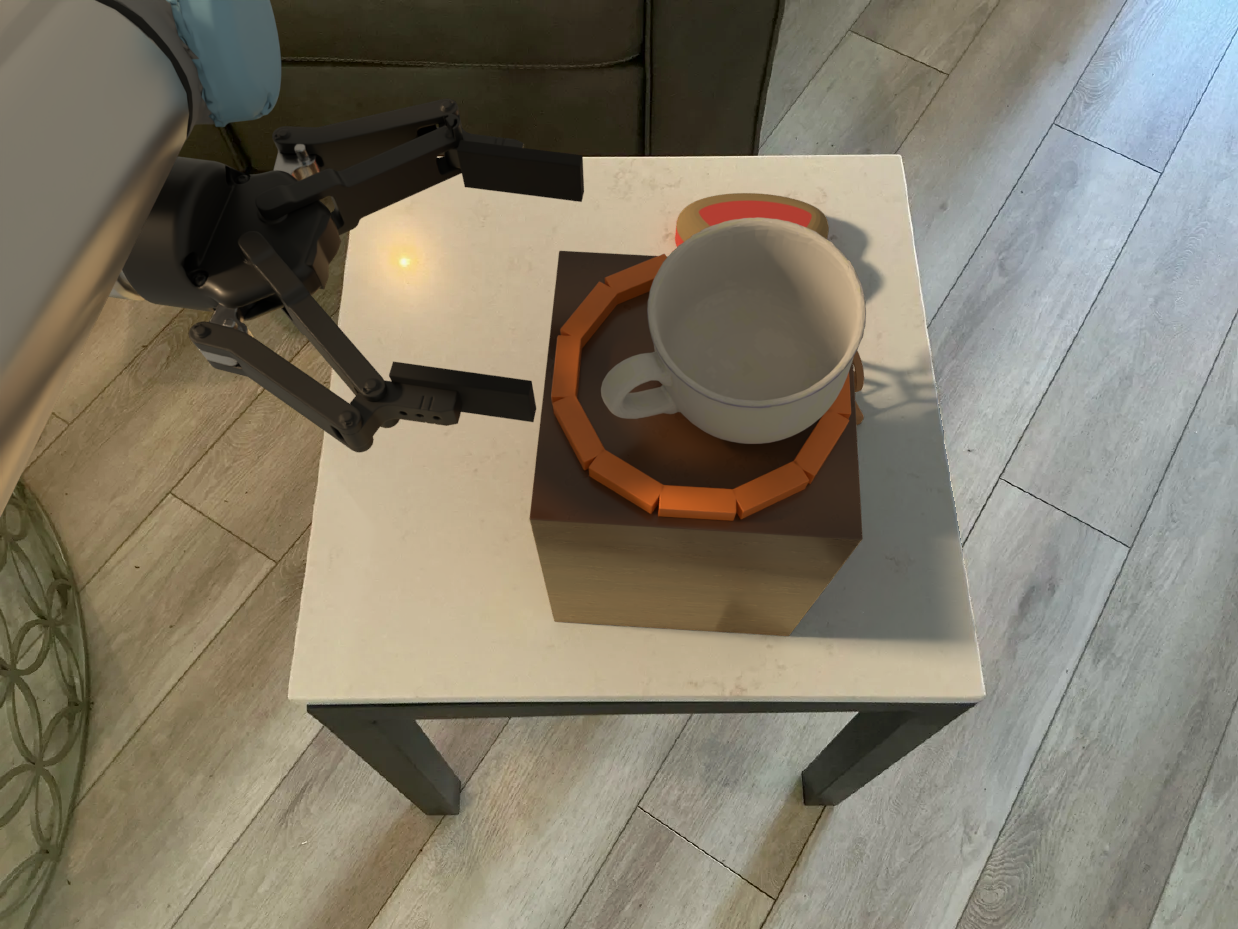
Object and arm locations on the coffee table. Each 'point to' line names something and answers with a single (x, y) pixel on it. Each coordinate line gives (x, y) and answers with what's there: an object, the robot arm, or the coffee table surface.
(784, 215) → the decorative object
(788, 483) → the ring
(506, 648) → the coffee table surface
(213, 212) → the robot arm
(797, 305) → the teacup
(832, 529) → the plinth
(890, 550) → the coffee table surface
